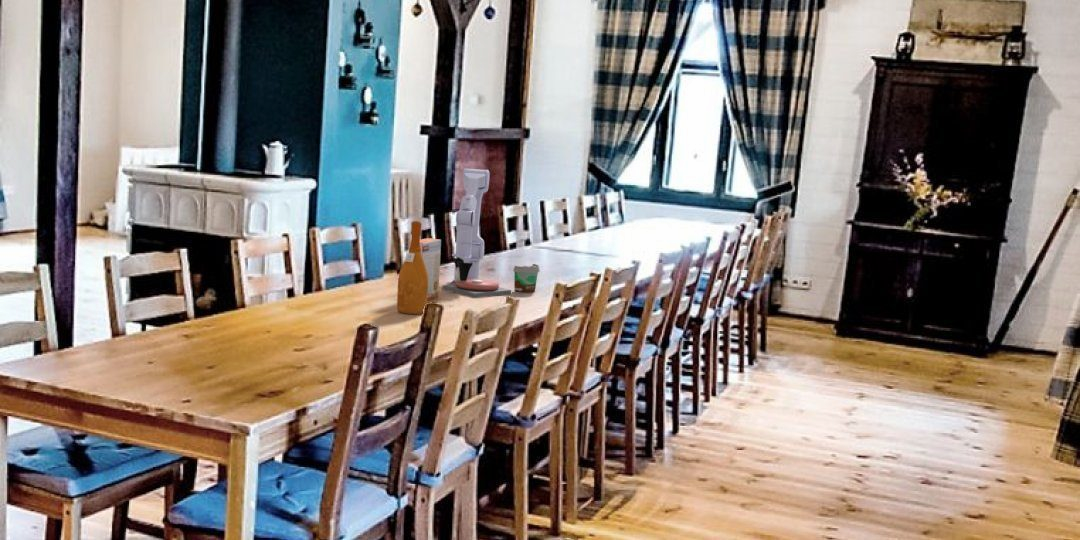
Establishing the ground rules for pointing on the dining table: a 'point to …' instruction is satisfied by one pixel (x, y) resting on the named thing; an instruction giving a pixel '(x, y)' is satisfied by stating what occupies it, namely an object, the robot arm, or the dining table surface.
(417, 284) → the wine bottle
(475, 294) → the base plate
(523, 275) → the food container
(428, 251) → the cracker box
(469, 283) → the handwheel
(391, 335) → the dining table surface
